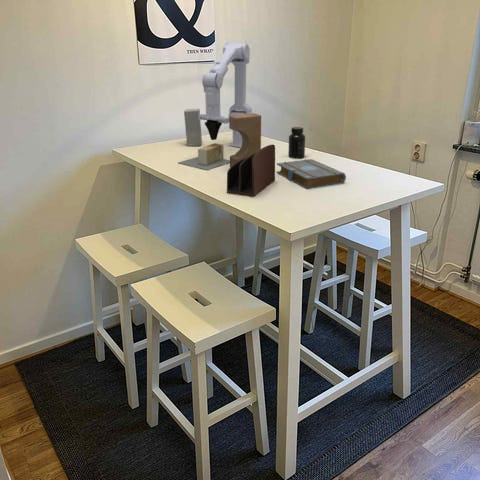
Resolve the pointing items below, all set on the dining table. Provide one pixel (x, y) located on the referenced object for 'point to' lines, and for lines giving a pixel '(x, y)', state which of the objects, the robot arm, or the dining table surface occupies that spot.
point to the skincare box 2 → (210, 154)
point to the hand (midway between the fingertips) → (213, 139)
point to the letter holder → (252, 173)
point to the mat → (194, 163)
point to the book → (310, 173)
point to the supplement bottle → (296, 143)
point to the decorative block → (246, 135)
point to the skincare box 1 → (193, 127)
